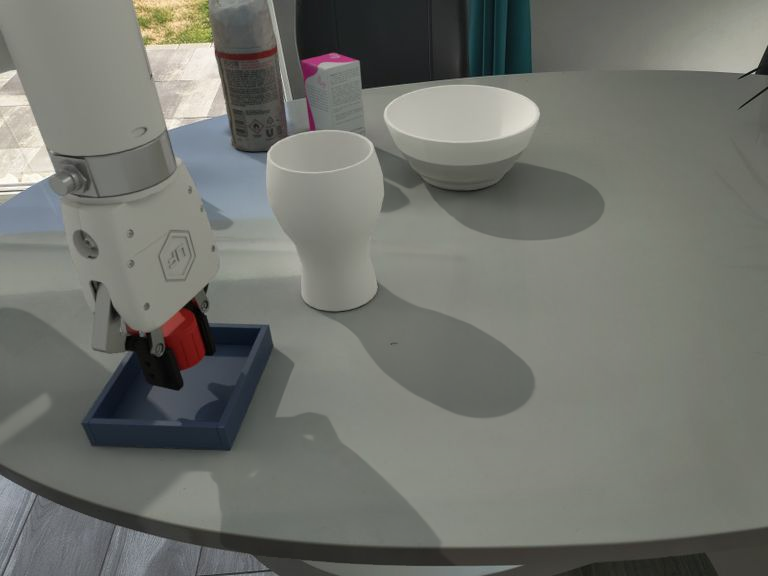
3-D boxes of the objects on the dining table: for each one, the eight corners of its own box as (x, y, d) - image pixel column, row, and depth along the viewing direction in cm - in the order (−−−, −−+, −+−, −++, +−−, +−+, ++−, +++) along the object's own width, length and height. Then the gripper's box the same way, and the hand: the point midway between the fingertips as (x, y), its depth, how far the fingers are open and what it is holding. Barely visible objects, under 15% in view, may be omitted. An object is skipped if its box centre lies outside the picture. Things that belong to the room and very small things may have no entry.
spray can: (301, 133, 107) (279, -17, 94) (277, 156, 100) (250, -2, 88) (248, 128, 108) (219, -21, 96) (221, 150, 102) (186, -5, 89)
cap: (194, 373, 58) (183, 338, 56) (146, 370, 59) (133, 336, 56) (212, 342, 61) (202, 308, 59) (166, 340, 62) (155, 306, 60)
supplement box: (368, 142, 104) (361, 59, 97) (334, 155, 101) (324, 70, 93) (343, 131, 107) (334, 50, 100) (309, 143, 104) (298, 60, 97)
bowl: (558, 159, 99) (563, 98, 94) (496, 221, 86) (498, 154, 81) (434, 133, 106) (432, 76, 101) (358, 187, 93) (352, 124, 88)
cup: (375, 326, 70) (360, 180, 60) (270, 314, 71) (240, 171, 62) (403, 267, 78) (393, 131, 69) (308, 258, 80) (286, 124, 70)
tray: (90, 445, 58) (80, 422, 56) (154, 342, 68) (147, 320, 66) (230, 450, 57) (224, 427, 56) (273, 346, 68) (269, 324, 66)
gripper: (74, 226, 42) (159, 447, 54) (231, 121, 55) (273, 319, 66) (-28, 208, 44) (75, 426, 56) (146, 111, 57) (201, 305, 68)
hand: (182, 366), depth 61 cm, fingers closed on cap, 3 cm apart
